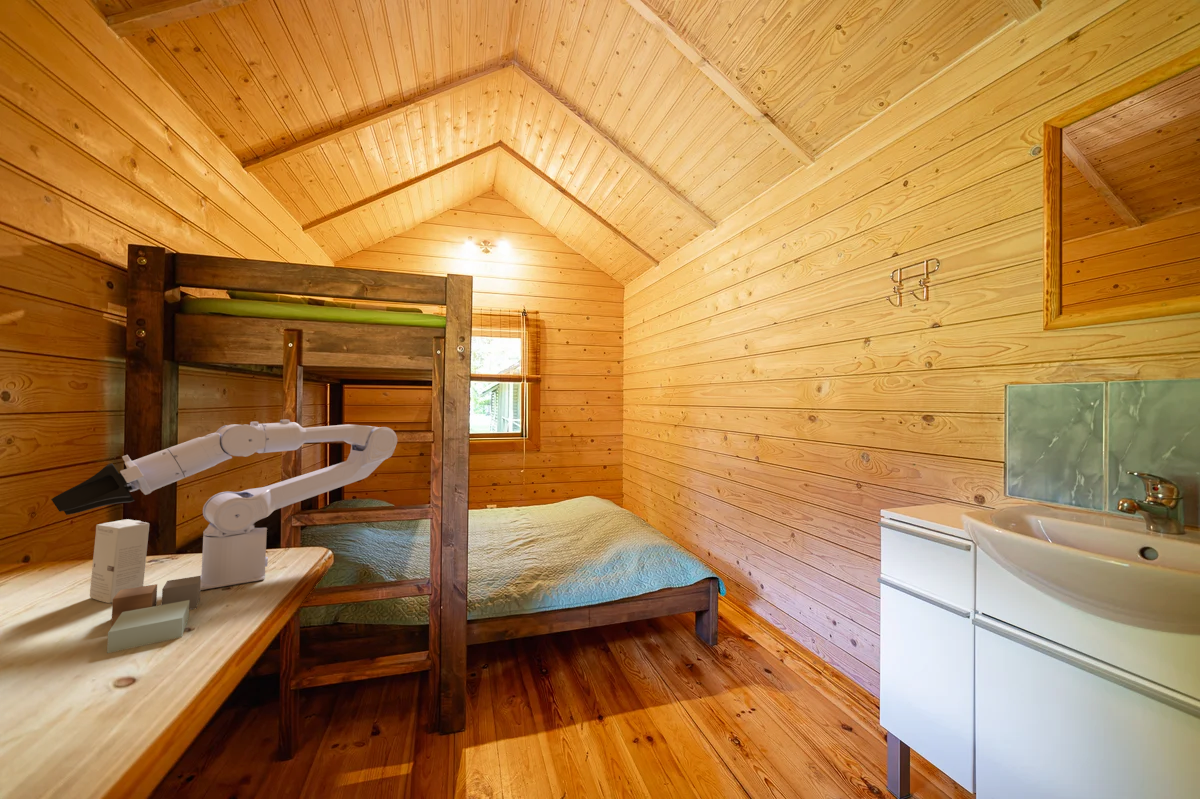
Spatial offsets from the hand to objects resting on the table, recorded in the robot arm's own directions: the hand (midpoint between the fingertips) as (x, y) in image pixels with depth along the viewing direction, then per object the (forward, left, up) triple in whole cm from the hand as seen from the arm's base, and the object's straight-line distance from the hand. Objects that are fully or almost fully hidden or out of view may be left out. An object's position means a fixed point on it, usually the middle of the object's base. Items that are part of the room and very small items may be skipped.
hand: (59, 507), depth 66 cm
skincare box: (-6, -6, -17) cm, 19 cm away
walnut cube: (-10, +6, -17) cm, 20 cm away
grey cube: (-15, +5, -17) cm, 23 cm away
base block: (-13, +14, -17) cm, 25 cm away
